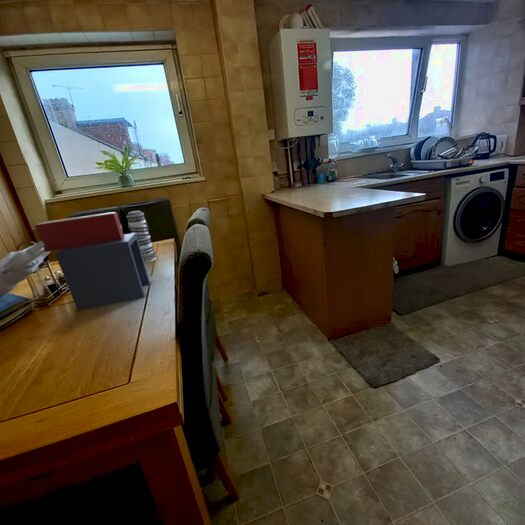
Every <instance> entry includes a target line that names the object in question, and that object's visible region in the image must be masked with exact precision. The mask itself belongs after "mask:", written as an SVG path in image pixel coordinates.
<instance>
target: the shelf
mask: <svg viewBox="0 0 525 525" xmlns="http://www.w3.org/2000/svg"><path fill="white" fill-rule="evenodd" d="M123 234H124V233H123ZM54 255H55V257H56V260H57V262H58V265H59V267H60V270H61V272H62V275H63V278H64V280H65V284H66V285H67V287H68V290H69V293H70V295H71V297H72V301H73V303H74V305H75V308H76V310H77V311H82V310H87V309H93V308H97V307H102V306H107V305H112V304H117V303H122V302H127V301H133V300H138V299H143V298H145V296H146V295H145V292H144V287H143V286H146V285H150V283H151V281H150V278H149V274H148V270H147V267H146V263H144V259H143V256H142V252H141V249H140V245H139V242H138V238H137V235H136V233H131V232H130V233H125V234H124V238H123V239H122V240H117V241H111V242H104V243H98V244H92V245H86V246H80V247H73V248H67V249H61V250H57V252H55V253H54Z"/></svg>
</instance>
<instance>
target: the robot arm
mask: <svg viewBox="0 0 525 525" xmlns="http://www.w3.org/2000/svg"><path fill="white" fill-rule="evenodd" d="M45 245H46V243H45V242H44V241H43V240H42V241H41V240H40V241H37V243H35V244H33V245H30V246H29V247H26V248H25V249H22V250H17V251H11V252H9V253H7V254H6V255H5V256H4V257H3V258H2V259H0V298H3V297H4V296H6V295H7V294H9V293H10V292H11V291H13V290H14V289H15V288H16V287H17V286H18V284H19V283H21V282H23V281H24V280H26V279H27V278H29V276H31V275H32V274H33V273H34V272H36V271H37V268H39V266H40V265H41V264H43V263H44V259H46V257H47V256H48V255H49V254H50V253H51V252H52V251H49V252H45V250H44V246H45Z"/></svg>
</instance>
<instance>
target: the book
mask: <svg viewBox="0 0 525 525" xmlns="http://www.w3.org/2000/svg"><path fill="white" fill-rule="evenodd" d="M109 212H110V213H108V212H103V213H97V214H89V215H83V216H77V217H69V218H62V219H55V220H50V221H43V222H39V223H36V224H34V228H35V231H36V232H37V235H38V238H39V240H40V241H42V240H43V241H44V242H45V243H46V245H45V246H44V250H45V252H49V251H51V252H53V251H60V250H62V249H67V248H73V247H80V246H86V245H92V244H98V243H104V242H111V241H117V240H122V239H123V238H124V231H123V227H122V228H121V226H122V224H121V222H120V217H119V214H118V213H117V211H109Z"/></svg>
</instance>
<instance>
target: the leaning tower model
mask: <svg viewBox="0 0 525 525" xmlns="http://www.w3.org/2000/svg"><path fill="white" fill-rule="evenodd" d="M126 218H127V223H128V224H127V228H128V231H129V232H130V233H136V235H137V238H138V242H139V245H140V249H141V252H142V256H143V259H144V263H145V264H147V263H151V262H153V261H155V260H157V257H156V256H157V255H156V252H155V249H154V245H153V243H152V241H151V233H150V229H149V228H150V226H148V224H149V223H148V222H147V221H146V218H145V213H144V212H143V211H141V210H133V211H129V212H128V213H127V215H126Z"/></svg>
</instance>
